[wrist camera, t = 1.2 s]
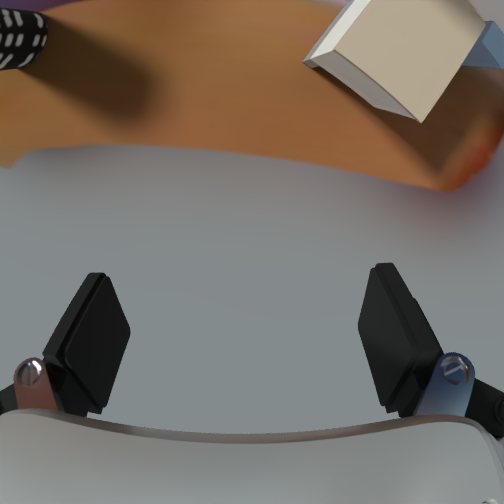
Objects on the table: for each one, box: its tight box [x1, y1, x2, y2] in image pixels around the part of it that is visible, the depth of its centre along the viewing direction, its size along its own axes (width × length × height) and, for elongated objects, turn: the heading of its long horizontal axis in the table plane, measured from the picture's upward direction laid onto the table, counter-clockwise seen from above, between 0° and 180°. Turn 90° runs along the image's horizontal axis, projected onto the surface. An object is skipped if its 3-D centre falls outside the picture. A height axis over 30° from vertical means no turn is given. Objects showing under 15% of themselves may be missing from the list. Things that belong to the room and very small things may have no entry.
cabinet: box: [302, 0, 486, 123], centre depth 20 cm, size 12×8×14 cm
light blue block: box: [461, 21, 504, 70], centre depth 19 cm, size 4×14×9 cm, turn 58°
